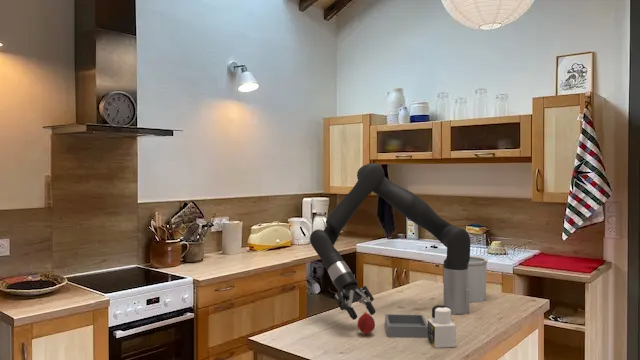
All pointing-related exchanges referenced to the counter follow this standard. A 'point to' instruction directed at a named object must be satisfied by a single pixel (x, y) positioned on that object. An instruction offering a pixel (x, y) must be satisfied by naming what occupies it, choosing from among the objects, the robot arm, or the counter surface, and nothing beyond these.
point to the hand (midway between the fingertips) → (364, 316)
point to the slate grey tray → (406, 325)
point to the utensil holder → (477, 278)
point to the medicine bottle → (441, 328)
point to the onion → (366, 323)
